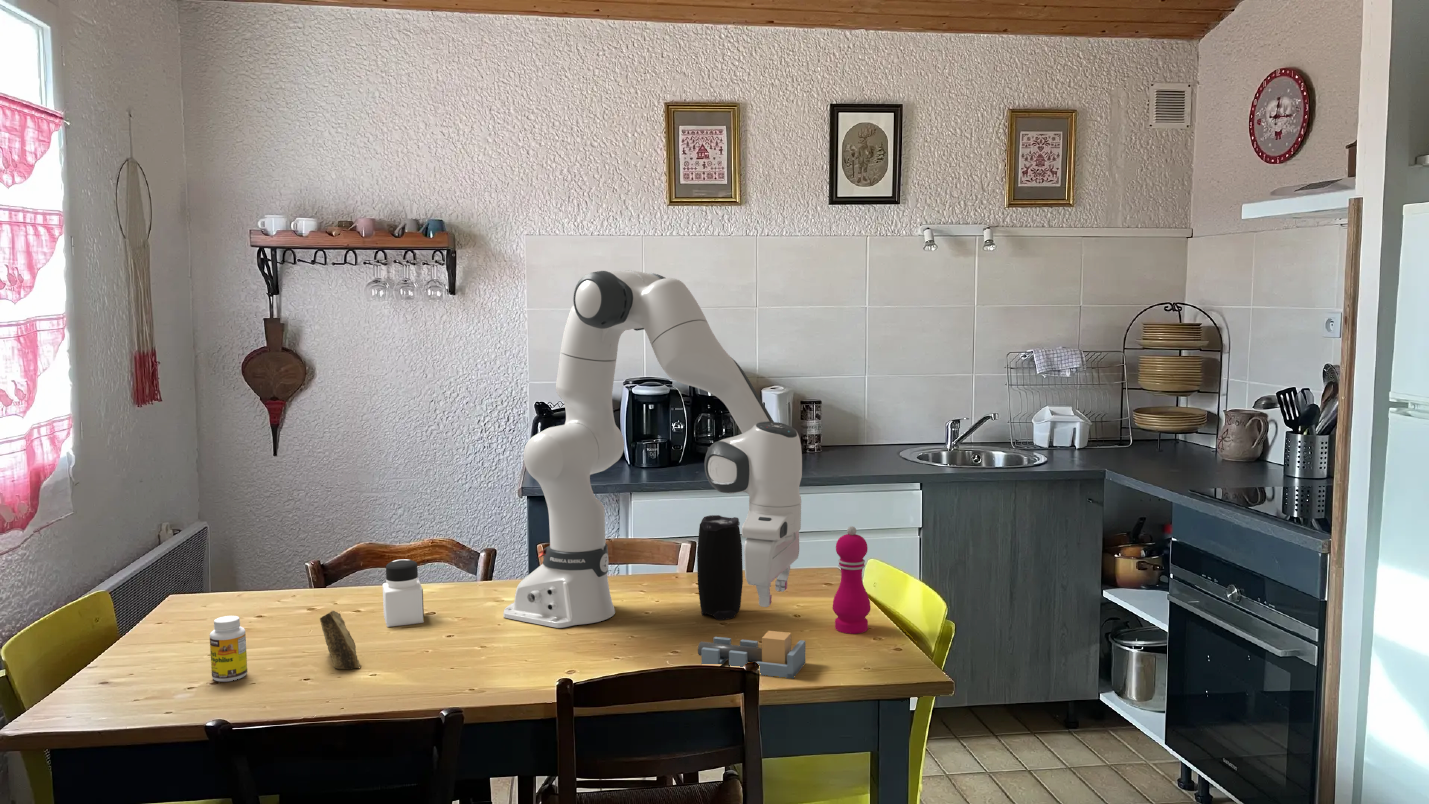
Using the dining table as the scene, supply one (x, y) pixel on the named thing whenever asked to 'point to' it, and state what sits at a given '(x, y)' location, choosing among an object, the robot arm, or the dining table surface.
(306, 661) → the dining table surface
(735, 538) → the portable speaker
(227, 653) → the supplement bottle
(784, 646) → the grey and tan hammer
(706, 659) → the clip
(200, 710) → the dining table surface
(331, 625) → the rock
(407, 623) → the medicine bottle
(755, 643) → the clip
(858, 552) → the pepper mill
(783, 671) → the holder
